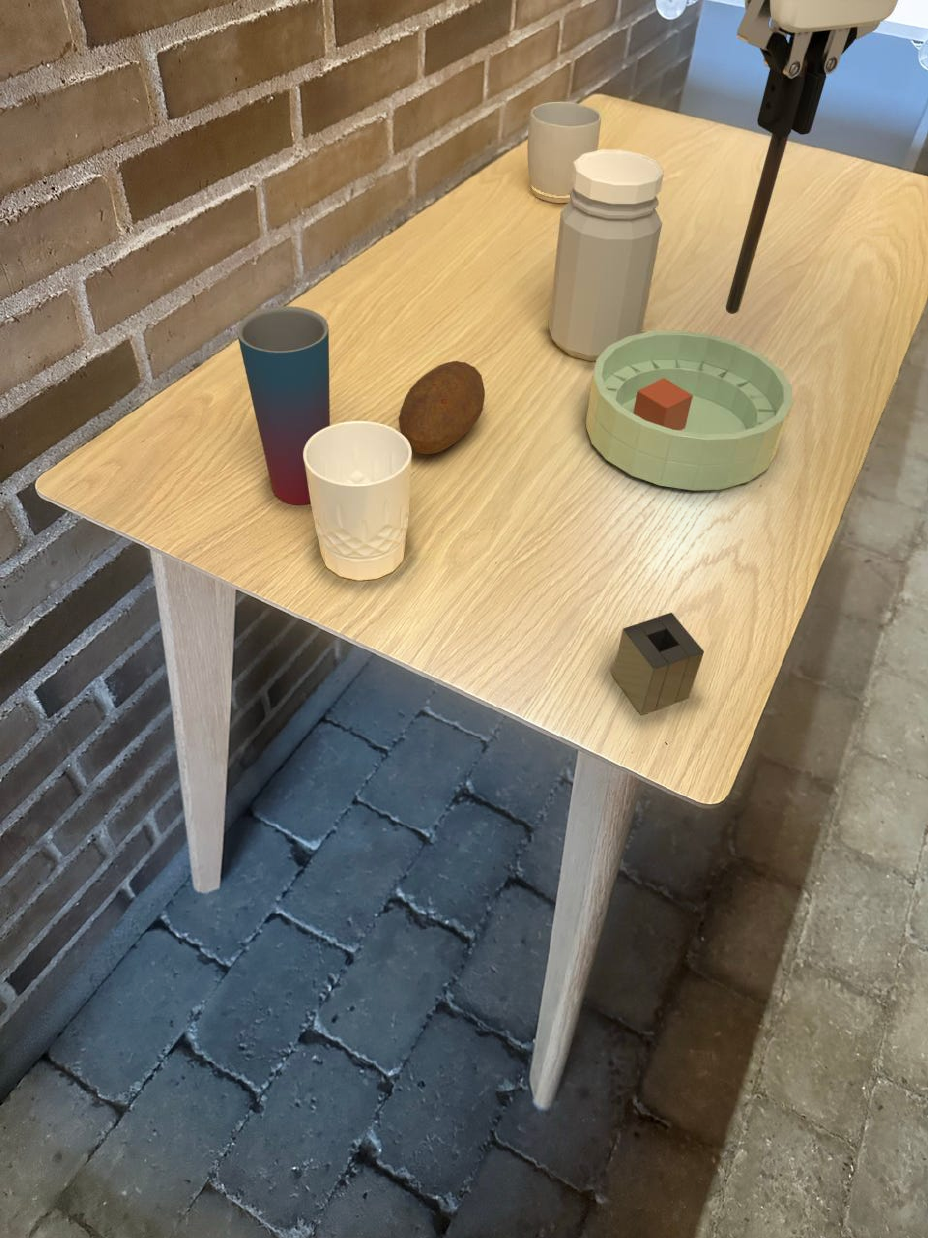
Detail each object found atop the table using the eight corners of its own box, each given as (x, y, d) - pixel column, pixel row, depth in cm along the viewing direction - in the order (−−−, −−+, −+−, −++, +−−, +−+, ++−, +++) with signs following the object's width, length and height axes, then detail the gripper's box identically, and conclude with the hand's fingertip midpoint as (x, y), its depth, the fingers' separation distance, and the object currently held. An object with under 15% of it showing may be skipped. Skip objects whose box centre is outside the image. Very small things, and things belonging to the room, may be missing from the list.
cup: (356, 480, 82) (347, 322, 71) (307, 522, 78) (289, 362, 67) (296, 453, 84) (277, 297, 73) (245, 492, 80) (217, 333, 69)
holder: (658, 659, 69) (671, 611, 65) (689, 698, 66) (704, 651, 63) (611, 675, 68) (622, 628, 64) (641, 716, 65) (654, 669, 61)
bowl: (703, 370, 96) (716, 316, 92) (813, 468, 85) (834, 412, 81) (552, 406, 91) (559, 350, 87) (649, 515, 80) (662, 458, 76)
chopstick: (732, 308, 82) (803, 50, 67) (740, 314, 81) (814, 56, 66) (721, 311, 81) (790, 52, 66) (729, 317, 80) (801, 58, 66)
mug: (574, 213, 121) (584, 131, 114) (512, 198, 124) (518, 116, 117) (611, 180, 129) (623, 101, 122) (552, 166, 132) (560, 88, 125)
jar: (635, 371, 96) (669, 192, 83) (541, 358, 97) (559, 179, 84) (642, 324, 102) (674, 151, 89) (553, 312, 103) (572, 140, 90)
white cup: (432, 552, 76) (433, 451, 69) (361, 602, 72) (355, 500, 64) (365, 508, 79) (359, 407, 72) (293, 553, 75) (280, 451, 68)
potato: (381, 464, 84) (379, 397, 79) (430, 397, 91) (431, 332, 86) (452, 483, 82) (454, 416, 77) (495, 413, 90) (500, 348, 85)
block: (656, 410, 90) (663, 377, 87) (685, 427, 88) (693, 394, 85) (631, 423, 88) (637, 390, 86) (659, 441, 86) (666, 408, 84)
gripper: (807, -184, 52) (726, 161, 65) (1011, -188, 57) (896, 135, 70) (727, -203, 56) (667, 123, 70) (922, -205, 61) (831, 101, 75)
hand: (782, 128), depth 70 cm, fingers closed on chopstick, 1 cm apart
